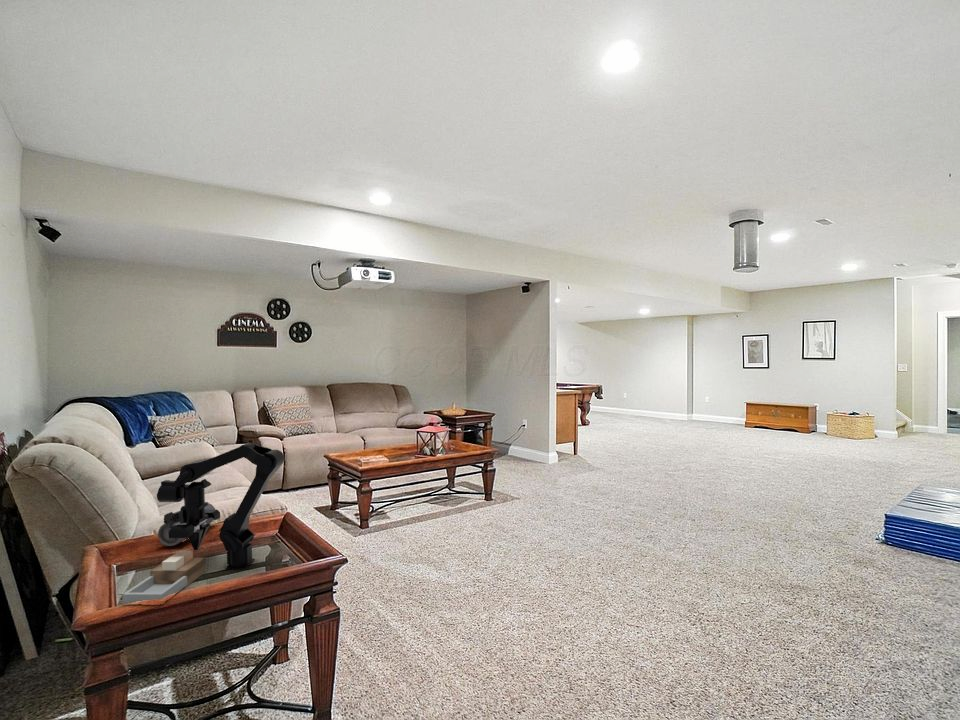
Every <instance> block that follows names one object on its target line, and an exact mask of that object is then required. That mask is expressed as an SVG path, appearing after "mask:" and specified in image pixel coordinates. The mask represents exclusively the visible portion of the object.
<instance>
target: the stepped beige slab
mask: <svg viewBox="0 0 960 720" xmlns="http://www.w3.org/2000/svg"><path fill="white" fill-rule="evenodd" d="M149 573H150V575H149V576H154V584H173V583H175V582H176V581H177V580H179V579H180V578H181V577H183V576H187V587H188V586H189V585H191V584H192V583H193V582H195V581H196V580H198V579H199V578H200V577H202V576H203V574H205V573H206V558H205V557H193V559H192V560H190V561H189V562H187V563H186V564H184V565H183V566H181V567H180V568H179V569H177V570H163V571H162V563H160V564H159V565H157V566H156V567H154V568H152V569H151V570H150V572H149Z"/></svg>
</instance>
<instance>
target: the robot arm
mask: <svg viewBox="0 0 960 720" xmlns="http://www.w3.org/2000/svg"><path fill="white" fill-rule="evenodd" d="M242 458H243V459H246V460H248V461H249V462H250V463H251V464H253V465H254V466H255V476H254V477H253V480H252V481H251V483H250V485H249V487H248V489H247V491H246V493H245V495H244V496H243V498H242V500H241V503H240V505H239V506H238V507H237V510H236V511H235V512H233V513H231V515H229V516H228V517H226V518H224V521H223V523H222V525H221V527H220V528H219V529H218V531H219V534H218V537H219V539H220V541H221V542H222V544H223V546H224V549H225V551H226V566H225V569H226V570H245V569H247V568H249V566H250V565H252V564H253V563H254V562H255V561H256V559H255V558H253V544H252V543H251V542H253V541H254V539H255V535H256V534H255V533H254V532H252V531H251V530H250V529H249V525H250V517H251V515H252V513H253V511H254V509H255V507H256V505H257V503H258V502H259V500H260V497H261V496H262V494H263V493H264V490H265V488H266V487H267V484H268V483H269V481H270V479H271V478H272V477H273V476H274V475H275V473H276V472H278V470H279V469H280V467H281V466H282V465H283V464H284V462H285V461H286V459H285V458H286V457H285V455H284V453H283V452H282V451H281V450H279V449H272V448H269V447H265V446H261V445H259V444H258V445H257V444H255V443H253V442H246V443H243V444H242V445H239V446H238V447H236V448H234V449H231V450H229V451H225V452H224V453H221V454H218V455H216V456H213V457H208V458H202V459H198V460H194V461H192V462H189V463H187V464H184V465H182V466H181V467H180V470H179V474H178V476H177V478H176V479H175V480H169V479H165V480H161V482H160V486H159V487H158V490H157V493H156V499H157V501H158V502H159V503H180V502H182V501H183V503H184V505H183V506H181V507H180V508H179V509H180V510H177V511H176V512H173V511H170V512H168V513H165V514H164V515H163V524H164V523H165V524H166V525H169V526H172V525H173V524H175V523H178V522H180V524H184V523H186V525H176V526H174V527H172V528H171V529H170V530H169V531H168V538H187V537H188V538H189V540H188V541H189V543H190V544H191V546H192V547H191V548H192V549H193V551H198V550H199V549H200V547H201V545H202V543H203V541H204V538H205V535H206V534H207V532H208V529H209V528H210V527H211V523H210V524H206V522H205V521H206V520H207V519H209V518H213V519H214V520H213V521H217V520H219V519H221V512H220V511H219V509H215V510H205V506H207V505H208V503H209V502H208V501H206V498H205V489H207V488H208V487H210V486H212V483H211V482H210V481H208V480H207V479H206V478H203V477H205V476H206V475H208V474H211V472H213V471H214V470H216V469H218V468H221V467H222V466H225V465H228V464H231V463H233V462H236V461H238V460H241V459H242ZM201 478H203V479H201ZM199 479H201V481H197V480H199ZM188 483H189V484H188Z"/></svg>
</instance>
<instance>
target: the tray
mask: <svg viewBox="0 0 960 720" xmlns="http://www.w3.org/2000/svg"><path fill="white" fill-rule="evenodd" d="M186 586H187V576H183V577H181V578H180V579H179V580H177V581H176V582H175V583H173V584H154V576H151V575H149V576H148V577H146V578H145V579H144V580H142V581H141V582H139V583H137V584H136V585H134V586H133V587H131V588H130V589H128V590H127V591H125V592H124V593H122V594H121V595H122V605H123V604H125V603H129V602H134V601H143V600H153V599H163V598H164V597H166V596H168V595H170V594H173V593H176V592H177V591H179V590H181V589H183V588H184V587H185V588H186ZM187 587H188V586H187ZM185 588H184V589H185ZM184 589H183V590H184ZM181 591H182V590H181Z"/></svg>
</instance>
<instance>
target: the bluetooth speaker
mask: <svg viewBox="0 0 960 720" xmlns="http://www.w3.org/2000/svg"><path fill="white" fill-rule="evenodd" d="M205 510H216V508H215V507H214V505H213V504H211V503H209V502H208V505H207V506H205ZM213 521H215V520H214V519H213V518H209V519H207V520H206V521H205V522H206V524H210V525H211V524H212V522H213ZM176 525H186V523H184V524H180V522H178V523H175V524H173V525H172V526H169V525H166V524H165V523H164V522H163V524H162V525H160V527H159V529H158V531H157V538H158V540H159V542H160V543H161V544H162V545H164V546H166V547H167V546H168V547H173V546H176V545H178V544H180V542H182V541H183V540H185V539H186V538H168V531H169V530H170V529H171V528H172V527H174V526H176ZM187 538H188V537H187Z"/></svg>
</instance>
